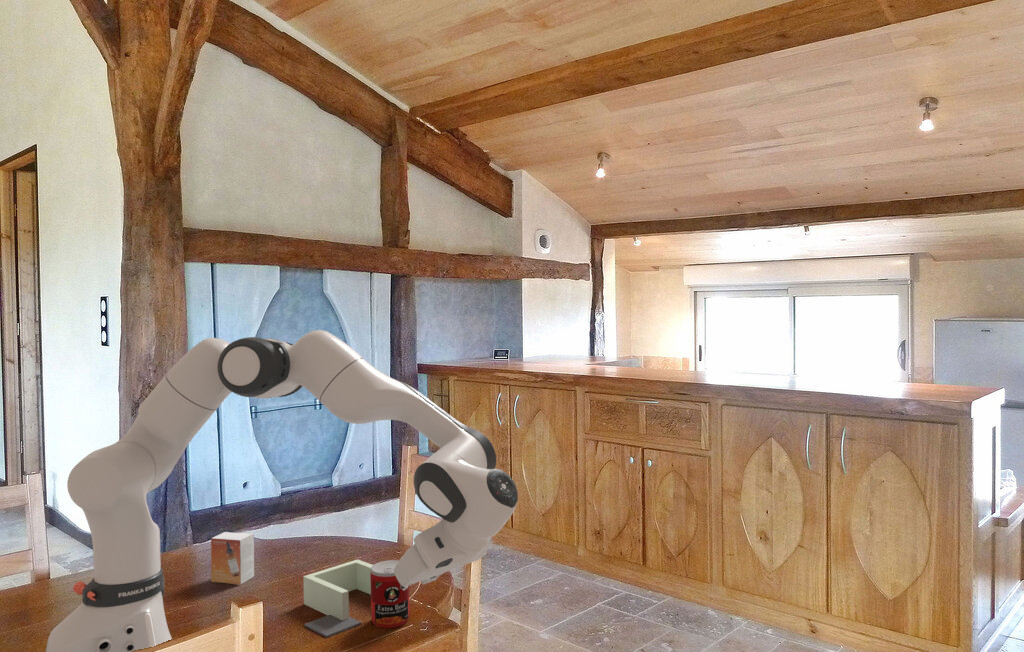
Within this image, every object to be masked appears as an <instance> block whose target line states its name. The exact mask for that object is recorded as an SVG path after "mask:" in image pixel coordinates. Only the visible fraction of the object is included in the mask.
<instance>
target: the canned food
mask: <svg viewBox="0 0 1024 652" xmlns="http://www.w3.org/2000/svg"><path fill="white" fill-rule="evenodd" d="M399 560H400V559H390V560H389V559H388V560H383V561H378V562H377V563H374V564H372V565H373V566H372V567H371V571H370V580H371V595H370V611H371V614H370V615H371V616H370V617H371V621H372V625H374V626H375V627H378V628H383V629H393V628H397V627H401V626H403V625H405V624H406V623H408V620H409V617H410V585H409V586H407V587H402V586H401V585H400V583H399V582H398V580H397V578H396V576H395V573H394V568H395V566H396V565H397V563H398V562H399Z"/></svg>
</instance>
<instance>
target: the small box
mask: <svg viewBox="0 0 1024 652" xmlns="http://www.w3.org/2000/svg"><path fill="white" fill-rule="evenodd" d="M254 541H255V537H254V533H252V532H251V533H250V532H249V533H246V532H245V533H243V532H242V533H241V532H229V531H224V532H221V533H220V534H217V535H215V536H213V537H211V538H210V562H211V563H210V564H211V565H210V568H211V569H210V574H211V575H210V577H211V583H221V584H222V583H223V584H231V585H238V586H241V585H243V584H244V583H246V582H248V581H249V580H251V579H253V578H254V577H255V543H254Z"/></svg>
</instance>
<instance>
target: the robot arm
mask: <svg viewBox="0 0 1024 652" xmlns="http://www.w3.org/2000/svg"><path fill="white" fill-rule="evenodd" d="M302 388H305V389H306V390H307V391H309V392H310V393H311V395H312V396H314V397H315V398H316V399H317V400H318V401H319V402H320V404H322V405H323V406H324V407H325V408H326V409H327V410H328V411H329V412H330V413H331V414H333V415H334V416H335V417H336V418H338V419H340V420H342V421H343V422H345V423H348V424H354V425H355V424H356V425H357V424H360V425H361V424H363V425H364V424H369V423H373V422H379V421H398V422H403V423H405V424H408V425H410V426H411V427H412V428H414V430H416V431H418V432H419V433H420V434H422V435H423V436H424V437H426V438H427V439H428V440H430V441H431V442H432V443H434V444H435V445H436V446H437V447H439V449H438V450H437V451H436V452H434V453H432V454H431V455H430V456H429V457H428V458H427V459H426V460H424V461H423V462H422V463H421V464H420V465H418V466H417V468H416V469H415V471H414V474H413V487H414V491H415V495H416V496H417V498H418V499H419V501H420V502H421V503H422V504H423V505H424V506H425V507H426V508H427V509H428V510H429V511H431V512H432V513H434V514H435V515H436V516H438V517H439V518H441V520H440V521H439V522H438V523H435V524H434V525H433V526H431V527H429V528H427V529H425V530H423V531H421V532H420V533H417V535H416V536H414V538H413V542H414V544H413V545H411V546H409V548H408V549H406V551H405V552H404V554H403V555H402V556H401V558H399V559H398V560H399V562H398V563H397V565H396V566H395V568H394V573H395V576H396V578H397V580H398V582H399V583H400V585H401V586H402V587H407V586H409V587H410V586H412V585H414V584H417V583H420V582H421V584H422V585H424V586H425V585H426V584H429V583H431V582H435V581H436V580H437V579H438V578H439V577H440V576H442V575H444V573H447V572H450V571H453V570H455V569H458V568H460V567H463V566H466V565H468V564H471V563H474V562H477V561H479V560H480V559H482V558H483V556H485V554H486V553H487V552H488V550H489V549H490V548H491V546H492V544H493V539H492V538H493V537H494V536H496V535H497V534H498V533H499V532H500V531H501V529H503V528H504V526H505V525H506V524H507V522H508V521H509V520H510V518H511V516H512V515H513V513H514V512H515V510H516V508H517V504H518V500H519V493H518V488H517V485H516V482H515V481H514V480H513V478H512V477H511V475H509V474H508V473H507V472H505V471H504V470H502V469H499V468H496V466H497V454H496V450H495V448H494V445H493V443H492V442H491V440H490V439H489V438H488V437H487V436H486V435H484V434H483V433H482V432H480V431H479V430H478V429H477V430H476V429H474V428H473V427H470V426H467V425H466V424H464V423H462V422H460V421H459V420H458V419H456V418H455V417H453V416H452V415H451V414H449V413H448V412H446V411H445V410H444V409H443V408H441V407H440V406H439V405H437V404H436V403H434V402H433V401H432V400H431V399H430V398H428V397H426V396H425V394H422V392H420V391H418V390H417V389H416V388H414V387H412V386H411V385H409V384H408V383H406V382H403V381H401V380H398V379H395V378H392V377H391V376H388V375H387V374H385V373H384V372H382V371H380V370H379V369H378V368H376V367H374V366H373V365H372V364H371V363H369V362H368V361H367V360H366V359H365V358H364V357H363V356H362V355H361V354H359V352H358V351H356V350H355V349H354V348H353V347H351V346H350V345H349V344H347V343H346V342H344V341H343V340H342V339H340V338H339V337H337V336H336V335H334V334H333V333H331V332H329V331H326V330H324V329H316V330H313V331H312V330H311V331H309V332H308V333H306V334H304V335H302V336H301V337H300V338H299V339H298V340H297V341H296V342H295V343H293V344H292V343H291V342H286V341H282V340H279V339H275V338H262V337H256V336H251V337H243V338H239V339H237V340H234V341H232V342H231V343H230V342H228V340H225V339H221V338H216V337H208V338H205V339H202V340H200V341H199V342H198V343H197V344H196V345H195V346H193V347H192V348H191V349H189V350H188V351H187V352H186V353H185V354H184V355H183V356H182V357H180V359H178V360H177V362H176V363H175V364H174V365H173V366H172V367H171V368H170V369H169V370H168V372H167V373H166V374H165V375H164V376H163V377H162V378H161V380H160V381H159V382H158V383H157V385H156V386H155V387H154V388H153V389H152V390H151V392H150V393H148V395H147V397H146V398H145V399H144V400H143V401H142V403H141V404H140V405H139V407H138V412H137V413H138V414H137V416H136V417H135V420H134V421H133V423H132V425H131V427H130V428H129V430H128V431H127V432H126V433H125V435H123V437H121V438H120V439H119V440H117V441H116V442H114V443H113V444H110V445H108V446H104V447H101V448H98V449H96V450H94V451H92V452H90V453H88V454H87V455H86V456H85V457H83V458H82V459H81V460H80V461H79V462H77V464H76V465H74V467H72V469H71V471H70V472H69V475H68V477H67V478H68V479H67V486H66V487H67V493H68V495H69V497H70V499H71V501H72V502H73V503H74V504H75V505H76V506H77V507H79V508H80V509H82V511H83V513H84V516H85V518H86V522H87V524H88V527H89V531H90V535H91V541H92V542H91V543H92V555H93V556H92V557H93V578H92V579H91V580H90V582H89V583H87V584H86V583H85V582H83V581H77V582H75V584H74V585H73V588H72V589H73V592H74V593H76V594H77V595H79V596H81V597H82V603H81V604H80V605H78V606H77V607H76V608H75V609H74V610H72V612H71V613H69V615H68V616H67V617H66V618H64V619H63V620H62V621H61V622H60V623H59V624H57V625H56V626H55V627H54V628H53V629H52V630H51V632H50V633H49V635H48V639H47V642H46V649H45V652H132V651H134V650H138V649H144V648H149V647H154V646H156V645H158V644H161V643H163V642H166V641H168V640H171V639H172V640H173V638H172V635H171V633H170V631H169V627H168V622H167V617H166V614H165V609H164V608H165V607H164V600H163V599H164V598H163V597H164V596H165V575H164V569H163V567H162V566H161V565H162V564H161V563H162V562H161V532H160V531H161V529H160V527H159V525H158V524H157V523H156V522H154V520H153V519H152V516H151V513H150V510H149V509H150V508H149V506H148V501H147V497H148V494H149V493H150V492H151V491H153V490H155V489H157V488H158V487H160V486H161V485H162V484H163V483H164V482H165V481H166V480H167V478H168V477H169V476H170V474H171V473H172V472H173V470H174V468H175V466H176V464H177V463H178V462H179V460H180V459H181V457H182V455H183V453H184V452H185V450H186V448H187V447H188V445H189V444H190V443H191V441H192V440H193V439H194V437H195V436H196V435H197V433H199V431H200V430H201V429H202V428H203V427H204V425H205V424H206V423H207V421H208V420H209V419H210V418H211V417H212V416H213V414H214V413H215V412H216V410H218V408H220V406H221V405H222V404H223V403H224V401H225V399H226V398H227V397H228V396H229V395H230V394H232V393H233V394H236V395H238V396H241V397H244V398H256V399H271V398H279V397H280V398H281V397H287V396H291V395H294V394H295V393H296V392H298V391H300V390H301V389H302Z"/></svg>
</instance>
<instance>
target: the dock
mask: <svg viewBox="0 0 1024 652" xmlns="http://www.w3.org/2000/svg"><path fill="white" fill-rule="evenodd" d="M373 565H374V564H372V563H369V562H366V561H363V560H361V559H359V558H357V559H355V560H352V561H348V562H345V563H342V564H339V565H335V566H332V567H329V568H325V569H322V570H319V571H316V572H313V573H309V574H307V575H303V576H302V577H303V581H302V582H303V604H304V605H305V606H307V607H309V608H311V609H314V610H316V611H318V612H320V613H322V614H324V615H325V616H328V615H332V616H334V617H336V618H338V619H340V620H346V619H348V618H349V617H350V603H349V601H350V600H349V599H350V598H349V596H350V595H349V593H350V592H351V591H354V590H359V591H361V592H363V593H366V594H368V595H370V596H371V580H370V571H371V567H372V566H373Z"/></svg>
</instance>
